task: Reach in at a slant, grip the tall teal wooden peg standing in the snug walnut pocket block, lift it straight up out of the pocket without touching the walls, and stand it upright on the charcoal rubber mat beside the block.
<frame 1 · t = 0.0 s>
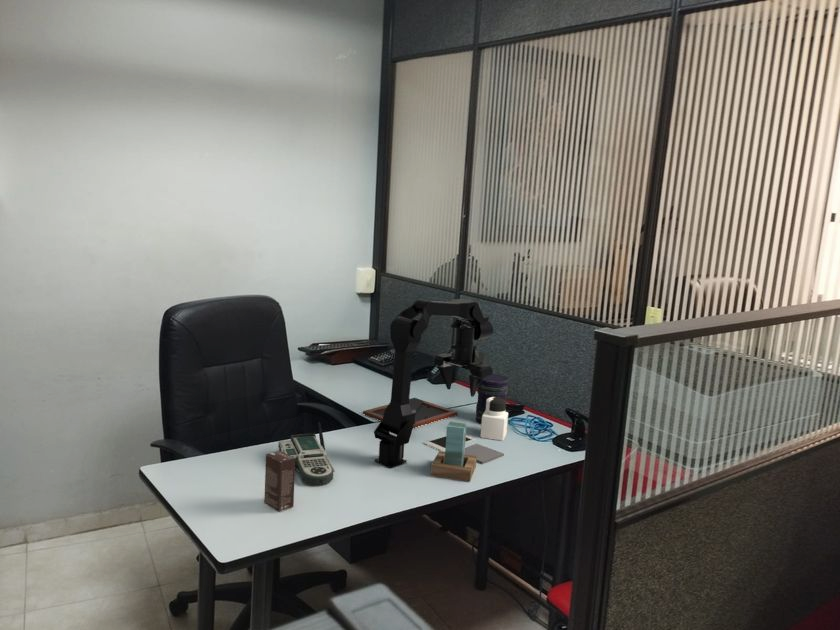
hand: (460, 392, 203), 15 cm above the table, tool pointing down, fingers open, 9 cm apart
pocket block: (453, 471, 182), on the table
picture frame: (410, 416, 227), on the table
smartphone: (449, 443, 204), on the table
medicine bottle: (493, 436, 211), on the table
box: (279, 506, 157), on the table
storage jar: (489, 422, 224), on the table
communication device: (307, 470, 178), on the table
mat: (479, 454, 195), on the table
peg: (455, 448, 181), in the pocket block
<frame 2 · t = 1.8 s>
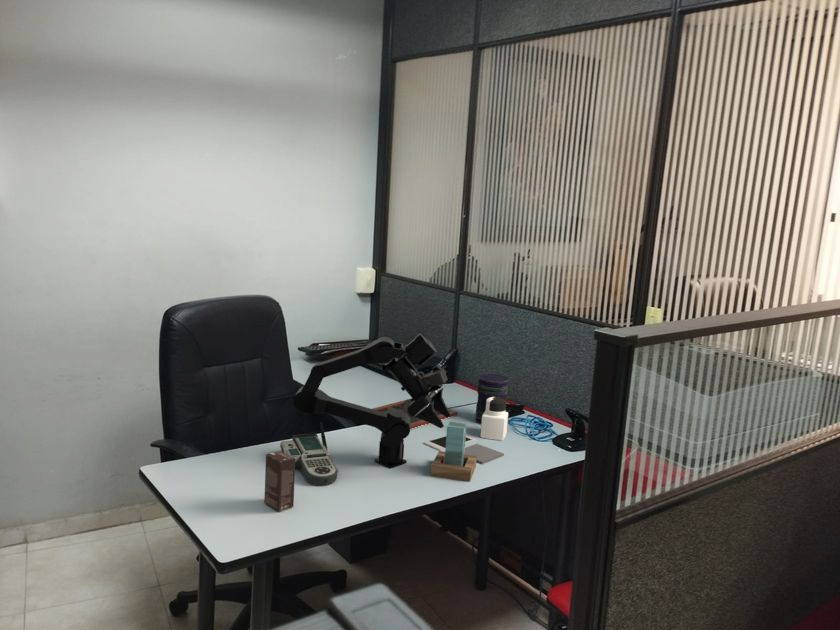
hand: (445, 421, 180), 13 cm above the table, tool tilted 45°, fingers open, 9 cm apart
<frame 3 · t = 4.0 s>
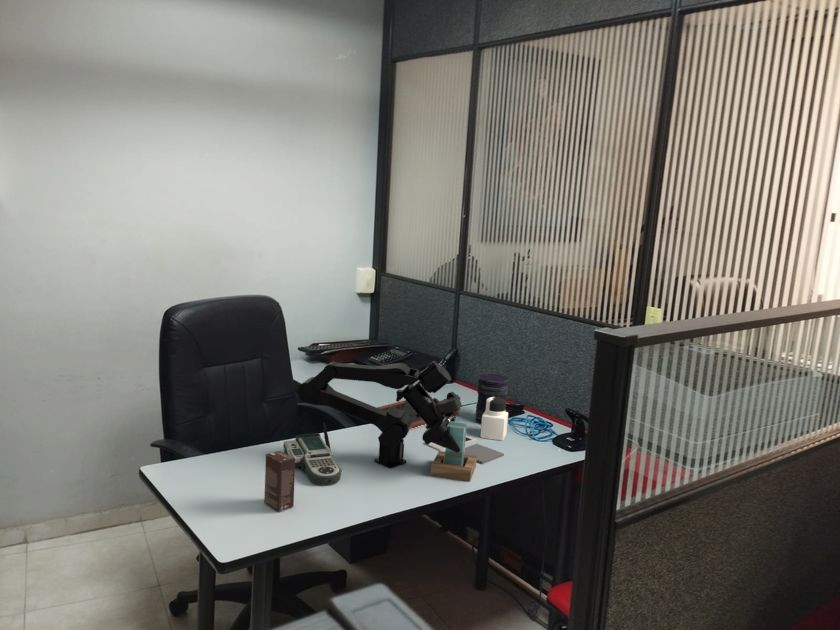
hand: (460, 448, 181), 7 cm above the table, tool tilted 45°, fingers closed on peg, 4 cm apart
peg: (455, 448, 181), in the pocket block, touching gripper
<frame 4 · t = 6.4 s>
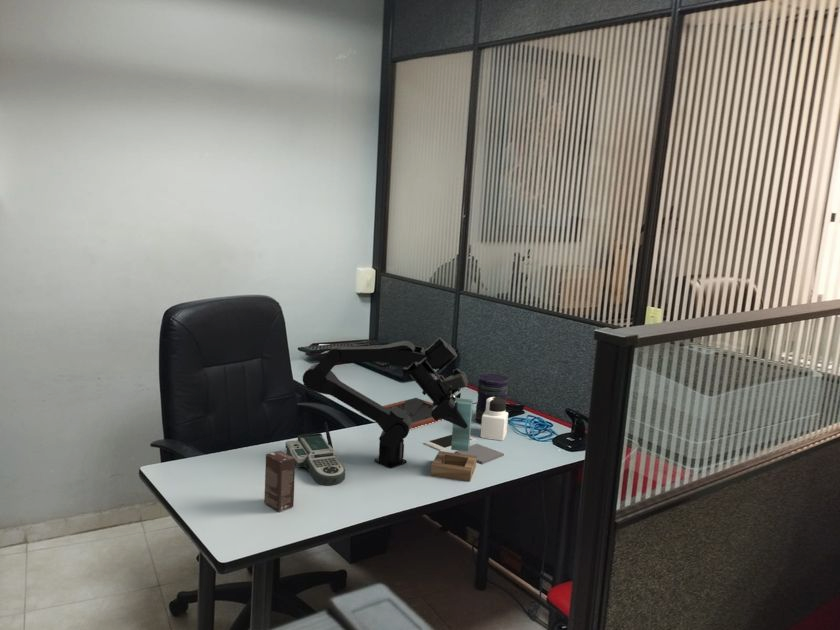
hand: (467, 424, 181), 13 cm above the table, tool tilted 45°, fingers closed on peg, 4 cm apart
peg: (462, 424, 181), point 13 cm above the table, touching gripper
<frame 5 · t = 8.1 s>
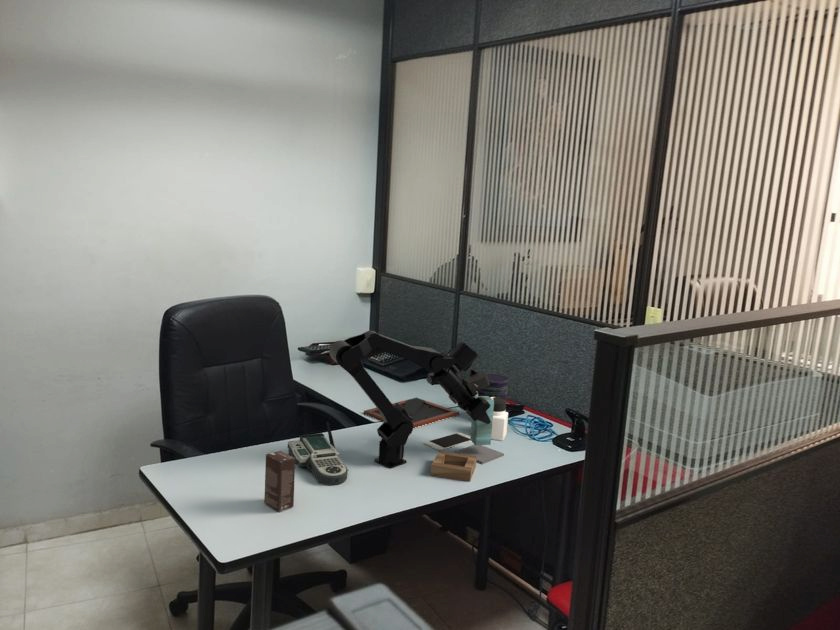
hand: (486, 420, 194), 10 cm above the table, tool tilted 45°, fingers closed on peg, 4 cm apart
peg: (481, 420, 193), point 10 cm above the table, touching gripper
when the fingers open (9 cm above the table, at t = 9.2 s): peg drops 1 cm, resting on mat.
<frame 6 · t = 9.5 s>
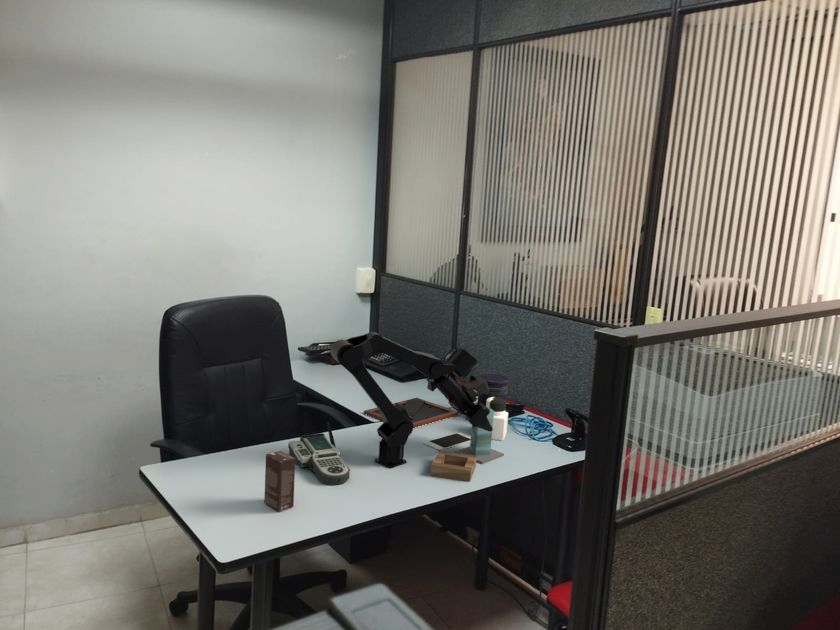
hand: (486, 425, 194), 9 cm above the table, tool tilted 45°, fingers open, 8 cm apart
peg: (481, 430, 194), on the mat, point 7 cm above the table
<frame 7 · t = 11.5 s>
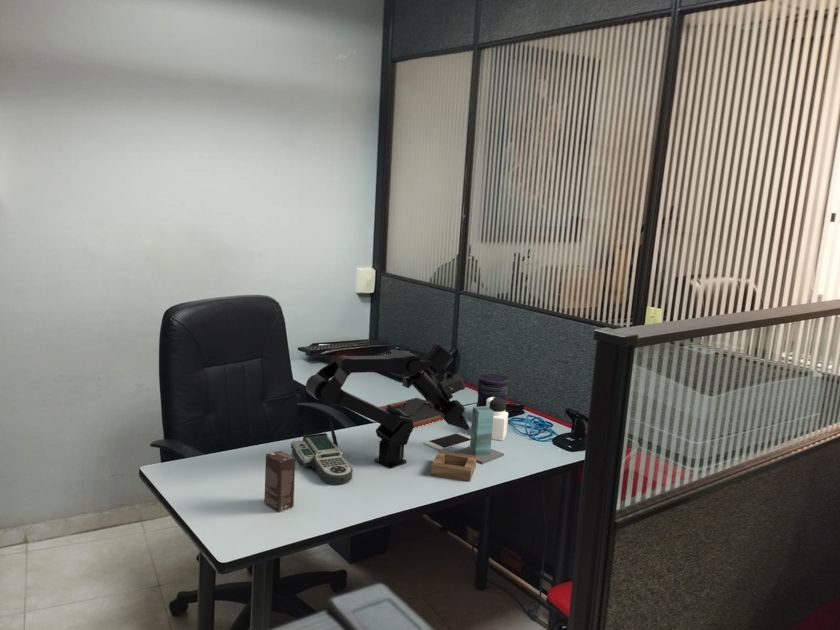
hand: (462, 423, 192), 9 cm above the table, tool tilted 45°, fingers open, 9 cm apart
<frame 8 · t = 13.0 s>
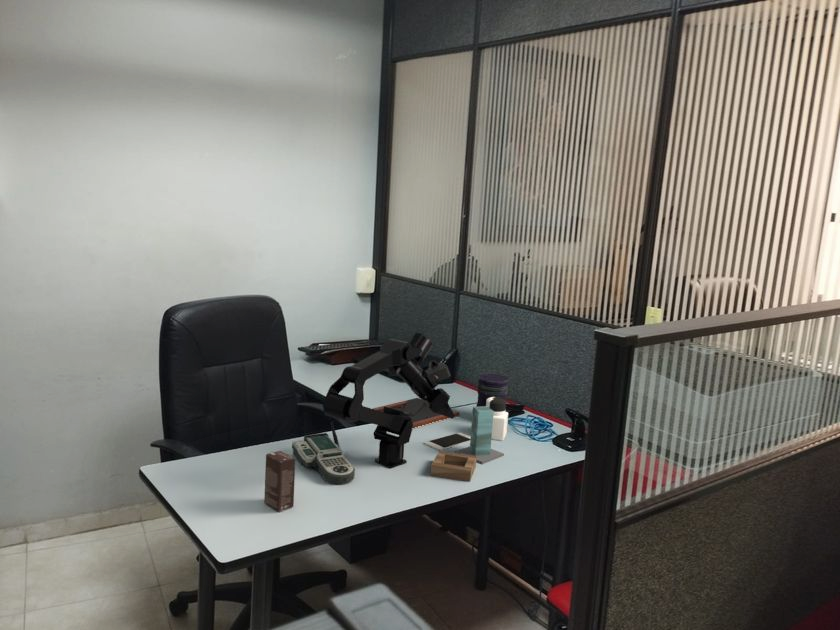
hand: (448, 412, 191), 13 cm above the table, tool tilted 45°, fingers open, 9 cm apart
at the end: peg 0.1 cm off-centre on the mat, point 7.1 cm above the mat's base; peg tilted 0°; the gripper is holding nothing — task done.
